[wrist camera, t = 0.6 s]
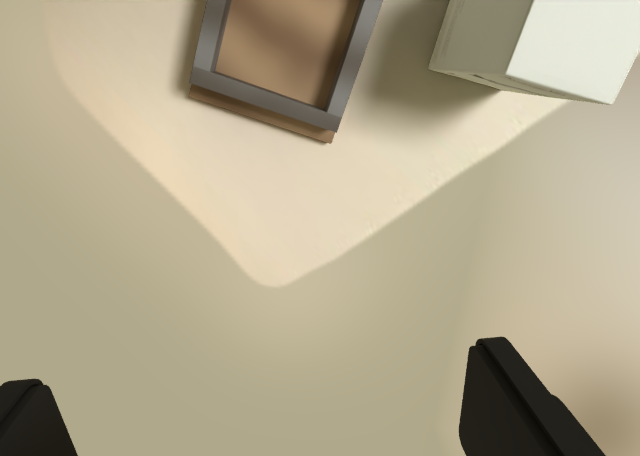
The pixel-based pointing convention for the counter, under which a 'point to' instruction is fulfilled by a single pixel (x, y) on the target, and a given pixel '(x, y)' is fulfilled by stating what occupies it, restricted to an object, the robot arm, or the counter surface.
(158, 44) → the counter surface
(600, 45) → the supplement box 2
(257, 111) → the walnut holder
